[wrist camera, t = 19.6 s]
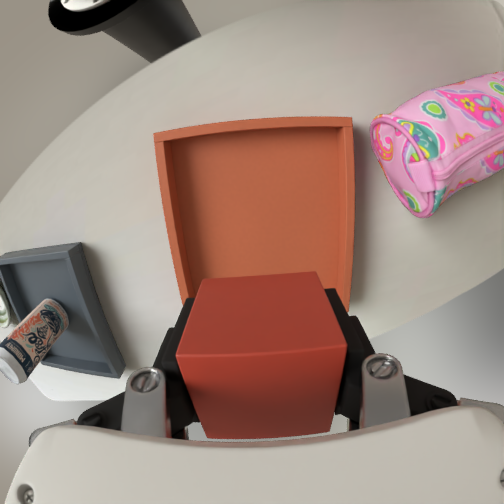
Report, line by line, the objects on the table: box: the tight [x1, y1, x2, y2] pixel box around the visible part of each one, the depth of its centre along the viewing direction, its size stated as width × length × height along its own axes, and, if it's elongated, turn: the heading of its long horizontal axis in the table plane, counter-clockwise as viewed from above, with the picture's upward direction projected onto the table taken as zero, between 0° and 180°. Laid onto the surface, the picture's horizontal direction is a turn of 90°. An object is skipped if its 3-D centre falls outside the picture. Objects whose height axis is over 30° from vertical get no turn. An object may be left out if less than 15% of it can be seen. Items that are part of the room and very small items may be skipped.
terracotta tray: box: [153, 117, 355, 312], centre depth 23 cm, size 18×16×3 cm
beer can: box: [0, 299, 69, 384], centre depth 23 cm, size 5×5×12 cm
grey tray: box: [0, 242, 126, 379], centre depth 28 cm, size 18×16×3 cm
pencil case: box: [370, 72, 504, 218], centre depth 16 cm, size 21×9×9 cm, turn 118°
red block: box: [176, 271, 347, 439], centre depth 9 cm, size 4×4×4 cm
